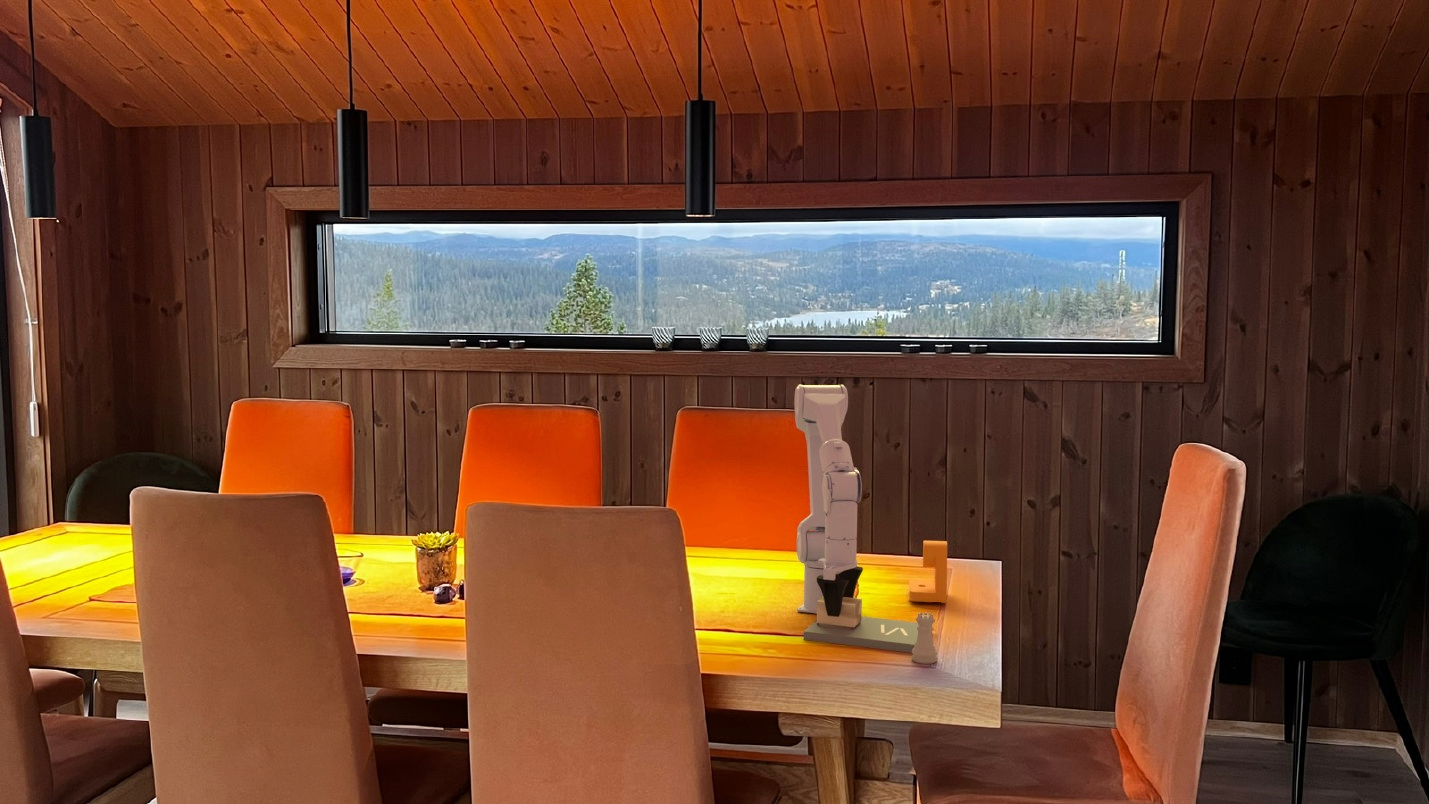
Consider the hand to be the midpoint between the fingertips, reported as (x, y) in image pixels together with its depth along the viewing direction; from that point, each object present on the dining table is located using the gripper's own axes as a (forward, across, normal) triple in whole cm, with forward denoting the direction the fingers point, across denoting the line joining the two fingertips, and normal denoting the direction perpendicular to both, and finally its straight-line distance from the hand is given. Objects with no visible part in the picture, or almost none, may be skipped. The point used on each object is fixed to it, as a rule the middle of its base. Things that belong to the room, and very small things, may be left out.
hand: (839, 610), depth 221 cm
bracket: (+4, -31, +9) cm, 33 cm away
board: (+4, 0, +5) cm, 7 cm away
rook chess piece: (+4, +10, +18) cm, 21 cm away
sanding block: (+2, 0, 0) cm, 3 cm away
